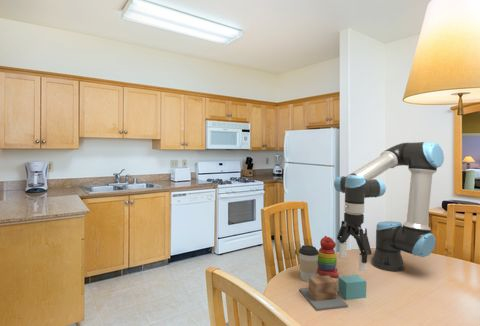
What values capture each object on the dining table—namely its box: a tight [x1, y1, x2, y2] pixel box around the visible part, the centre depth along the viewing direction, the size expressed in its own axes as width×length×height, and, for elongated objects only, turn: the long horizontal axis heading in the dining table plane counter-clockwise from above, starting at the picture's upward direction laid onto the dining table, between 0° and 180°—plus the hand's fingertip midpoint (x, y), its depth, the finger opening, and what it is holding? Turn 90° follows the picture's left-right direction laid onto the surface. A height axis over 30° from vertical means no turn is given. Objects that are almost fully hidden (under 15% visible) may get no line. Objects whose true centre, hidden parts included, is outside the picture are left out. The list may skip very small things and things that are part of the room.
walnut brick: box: [308, 275, 338, 301], centre depth 117 cm, size 9×6×7 cm, turn 102°
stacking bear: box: [316, 235, 340, 279], centre depth 141 cm, size 11×10×18 cm
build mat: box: [298, 287, 349, 312], centre depth 117 cm, size 13×16×1 cm
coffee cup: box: [298, 245, 319, 283], centre depth 135 cm, size 9×9×15 cm
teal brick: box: [337, 274, 367, 301], centre depth 120 cm, size 9×6×7 cm, turn 102°
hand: (352, 263), depth 119 cm, fingers open, 13 cm apart
